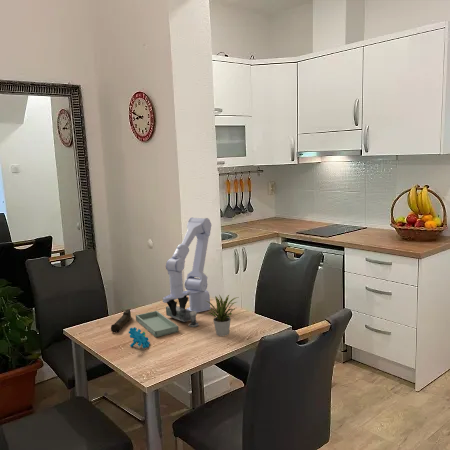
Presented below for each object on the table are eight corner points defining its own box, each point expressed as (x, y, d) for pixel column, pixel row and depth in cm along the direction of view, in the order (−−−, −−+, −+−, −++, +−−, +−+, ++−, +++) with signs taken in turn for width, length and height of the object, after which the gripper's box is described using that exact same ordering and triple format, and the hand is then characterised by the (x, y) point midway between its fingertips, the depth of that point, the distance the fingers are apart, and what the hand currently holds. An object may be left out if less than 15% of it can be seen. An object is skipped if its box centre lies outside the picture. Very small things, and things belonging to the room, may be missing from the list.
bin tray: (157, 315, 212) (156, 310, 212) (178, 331, 191) (178, 326, 191) (136, 320, 207) (135, 315, 207) (155, 337, 186) (155, 331, 186)
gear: (144, 348, 172) (126, 329, 173) (134, 359, 172) (116, 340, 174) (155, 341, 182) (138, 322, 184) (145, 351, 183) (128, 332, 185)
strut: (173, 312, 211) (172, 304, 211) (191, 319, 201) (191, 310, 201) (166, 315, 209) (165, 306, 208) (184, 322, 199) (184, 313, 198)
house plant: (250, 332, 187) (248, 294, 184) (227, 343, 177) (225, 303, 174) (224, 325, 196) (222, 288, 194) (201, 335, 186) (199, 296, 184)
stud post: (196, 322, 201) (195, 308, 200) (200, 325, 197) (199, 310, 196) (187, 325, 198) (186, 310, 197) (191, 328, 195) (190, 313, 194)
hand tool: (119, 333, 193) (119, 322, 192) (110, 333, 194) (110, 322, 193) (136, 317, 212) (135, 308, 211) (127, 317, 212) (127, 308, 212)
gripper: (168, 290, 195) (170, 320, 197) (194, 282, 205) (196, 311, 207) (158, 287, 200) (161, 316, 202) (184, 280, 210) (186, 308, 212)
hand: (178, 314), depth 205 cm, fingers closed on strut, 4 cm apart
